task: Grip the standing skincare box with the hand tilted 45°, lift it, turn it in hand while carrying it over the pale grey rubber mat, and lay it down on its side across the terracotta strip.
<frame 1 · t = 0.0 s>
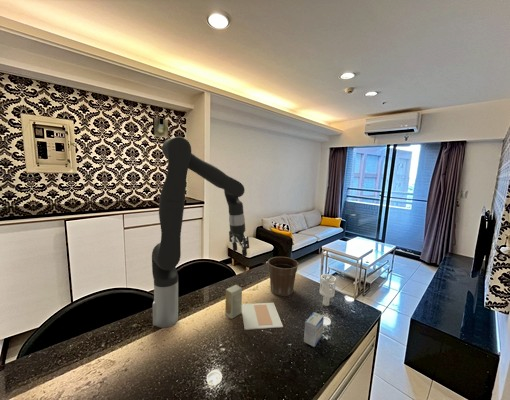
hand: (239, 253, 114), 22 cm above the kitchen island counter, tool pointing down, fingers open, 8 cm apart
skincare box: (233, 314, 101), on the kitchen island counter
plant pot: (281, 290, 123), on the kitchen island counter
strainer: (325, 304, 112), on the kitchen island counter
medicine box: (313, 339, 88), on the kitchen island counter
mat: (260, 315, 101), on the kitchen island counter
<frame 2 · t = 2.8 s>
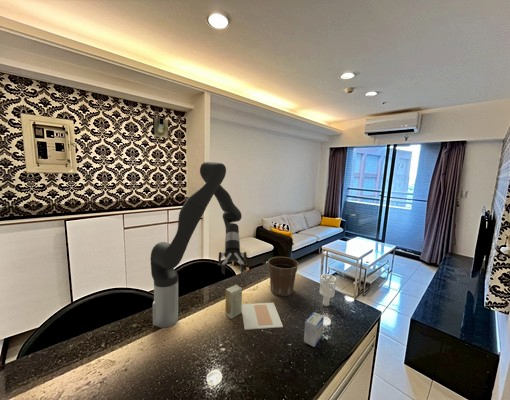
hand: (233, 273, 109), 15 cm above the kitchen island counter, tool tilted 45°, fingers open, 8 cm apart
nothing on the kitchen island counter moved.
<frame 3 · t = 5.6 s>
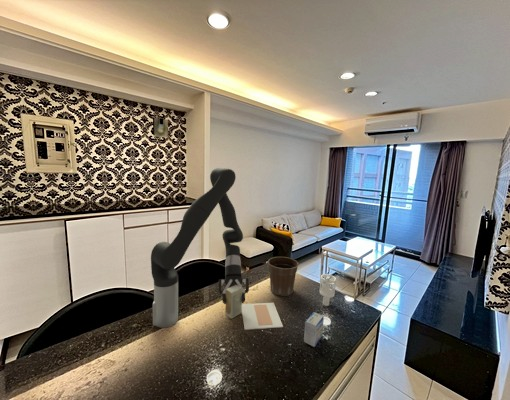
hand: (233, 303, 99), 6 cm above the kitchen island counter, tool tilted 45°, fingers closed on skincare box, 7 cm apart
skincare box: (233, 314, 101), on the kitchen island counter, touching gripper
everything else where it was.
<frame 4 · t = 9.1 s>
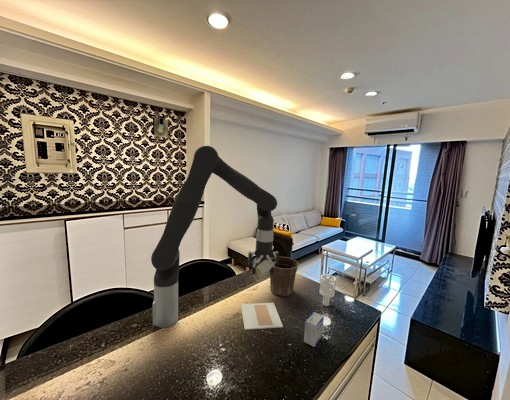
hand: (262, 274, 102), 18 cm above the kitchen island counter, tool pointing down, fingers closed on skincare box, 7 cm apart
skincare box: (259, 275, 108), point 14 cm above the kitchen island counter, touching gripper
everything else where it was.
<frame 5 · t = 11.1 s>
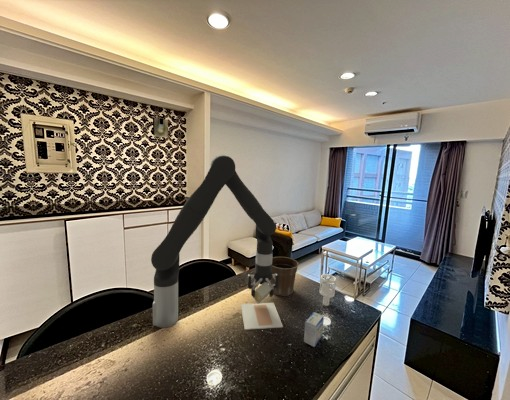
hand: (262, 296, 103), 7 cm above the kitchen island counter, tool pointing down, fingers closed on skincare box, 7 cm apart
skincare box: (259, 296, 109), point 4 cm above the kitchen island counter, touching gripper
everything else where it was.
when the fingers open (7 cm above the kitchen island counter, at t = 12.2 s): skincare box moves 3 cm, resting on mat.
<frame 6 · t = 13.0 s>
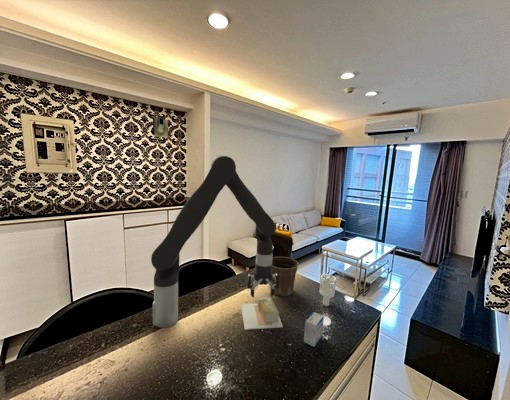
hand: (262, 296, 103), 7 cm above the kitchen island counter, tool pointing down, fingers open, 8 cm apart
skincare box: (263, 301, 107), point 3 cm above the kitchen island counter, touching mat
everything else where it was.
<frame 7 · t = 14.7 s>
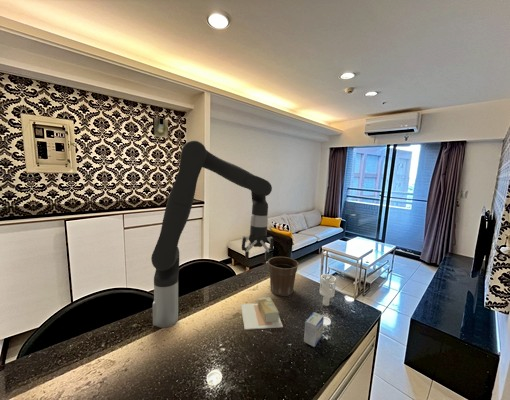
hand: (256, 259, 103), 24 cm above the kitchen island counter, tool pointing down, fingers open, 8 cm apart
nothing on the kitchen island counter moved.
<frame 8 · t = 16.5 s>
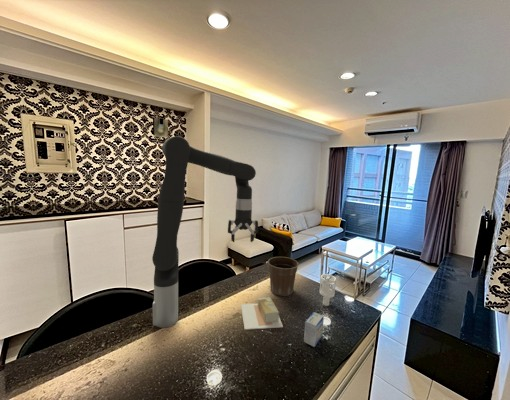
hand: (242, 241, 108), 30 cm above the kitchen island counter, tool pointing down, fingers open, 8 cm apart
nothing on the kitchen island counter moved.
at the end: skincare box tilted 90°; skincare box touching mat; skincare box inside the target area (1.7 cm from its centre), point 2.6 cm above the kitchen island counter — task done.
